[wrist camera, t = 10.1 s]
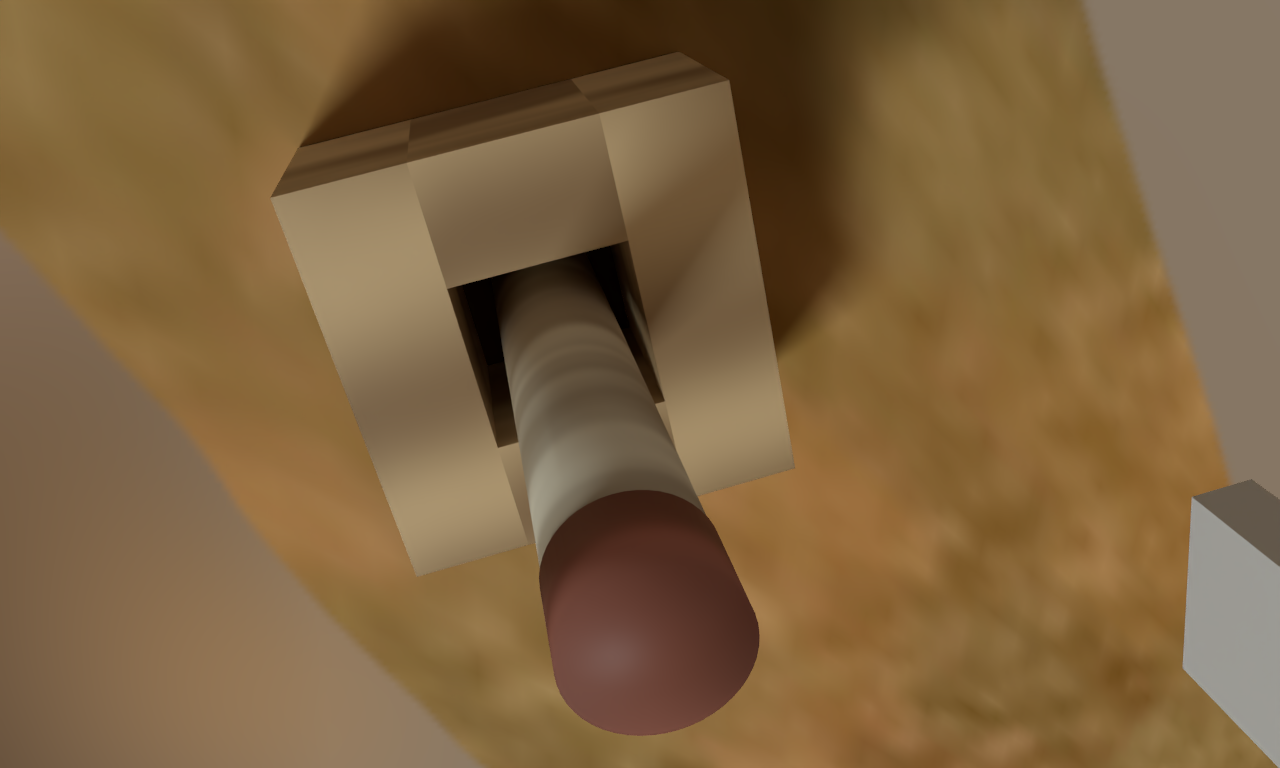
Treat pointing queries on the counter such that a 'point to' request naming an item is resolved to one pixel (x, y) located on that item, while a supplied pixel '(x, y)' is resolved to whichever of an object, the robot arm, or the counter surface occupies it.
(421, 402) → the bead block
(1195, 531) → the robot arm
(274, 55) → the counter surface
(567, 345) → the brown-tipped rod
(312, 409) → the counter surface
